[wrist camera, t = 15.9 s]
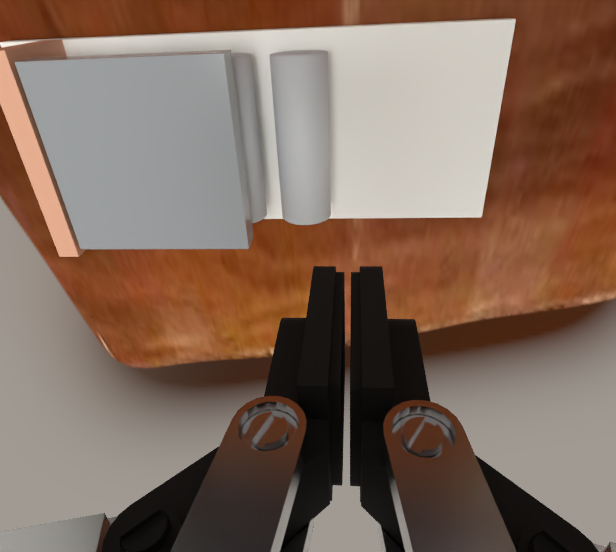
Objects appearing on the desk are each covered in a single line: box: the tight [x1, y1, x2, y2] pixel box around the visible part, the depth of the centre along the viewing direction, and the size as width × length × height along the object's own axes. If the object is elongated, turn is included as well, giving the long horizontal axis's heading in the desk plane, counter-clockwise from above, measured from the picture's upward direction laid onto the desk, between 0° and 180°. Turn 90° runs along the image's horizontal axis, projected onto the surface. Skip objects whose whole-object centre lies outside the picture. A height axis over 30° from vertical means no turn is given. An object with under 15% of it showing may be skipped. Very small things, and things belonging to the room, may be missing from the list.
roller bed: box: [0, 18, 516, 257], centre depth 26 cm, size 28×11×6 cm, turn 93°
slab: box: [15, 50, 254, 249], centre depth 24 cm, size 10×10×2 cm
